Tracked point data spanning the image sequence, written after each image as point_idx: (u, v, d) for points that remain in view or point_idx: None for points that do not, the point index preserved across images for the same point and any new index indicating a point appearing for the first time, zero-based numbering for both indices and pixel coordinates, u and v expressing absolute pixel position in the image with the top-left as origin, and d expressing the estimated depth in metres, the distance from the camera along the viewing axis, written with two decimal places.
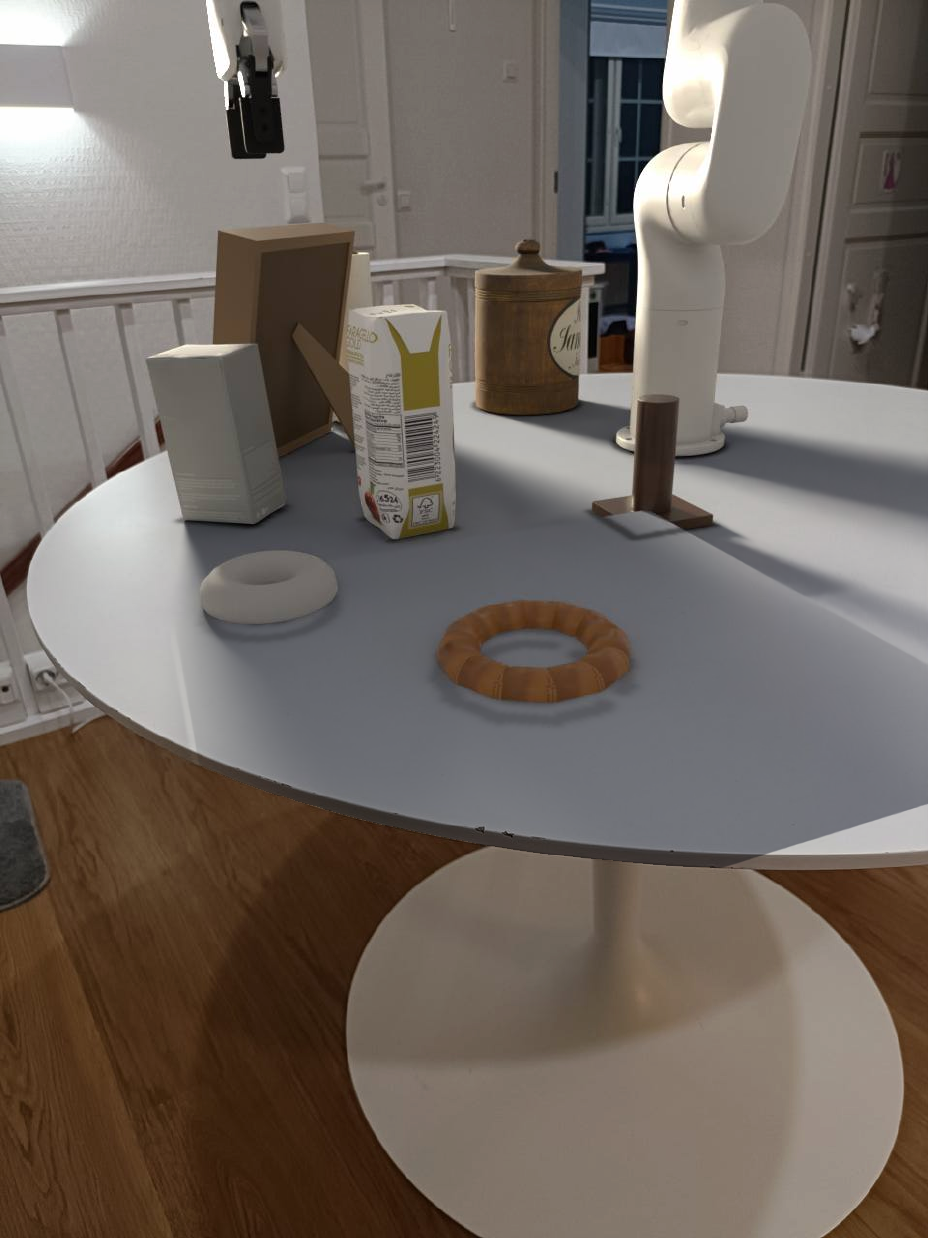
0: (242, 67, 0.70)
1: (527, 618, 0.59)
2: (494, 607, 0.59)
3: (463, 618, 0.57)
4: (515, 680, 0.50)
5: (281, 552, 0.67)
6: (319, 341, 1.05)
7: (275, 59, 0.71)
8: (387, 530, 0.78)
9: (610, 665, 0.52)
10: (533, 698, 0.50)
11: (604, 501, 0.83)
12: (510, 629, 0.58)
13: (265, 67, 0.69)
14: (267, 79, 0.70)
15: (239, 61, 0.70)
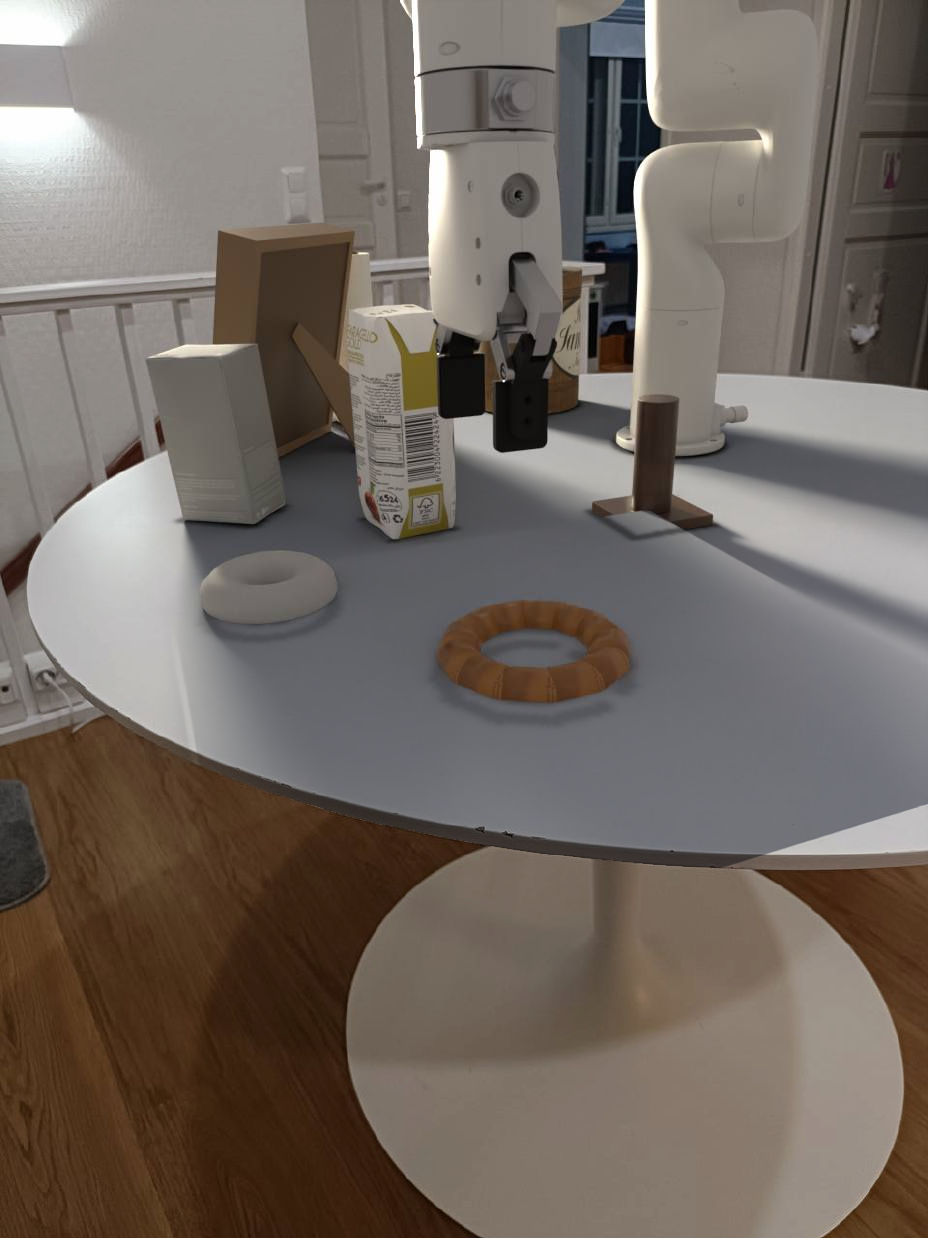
0: (503, 342, 0.48)
1: (527, 618, 0.59)
2: (494, 607, 0.59)
3: (463, 618, 0.57)
4: (515, 680, 0.50)
5: (281, 552, 0.67)
6: (319, 341, 1.05)
7: None
8: (387, 530, 0.78)
9: (610, 665, 0.52)
10: (533, 698, 0.50)
11: (604, 501, 0.83)
12: (510, 629, 0.58)
13: (546, 351, 0.46)
14: (543, 363, 0.47)
15: (498, 332, 0.48)
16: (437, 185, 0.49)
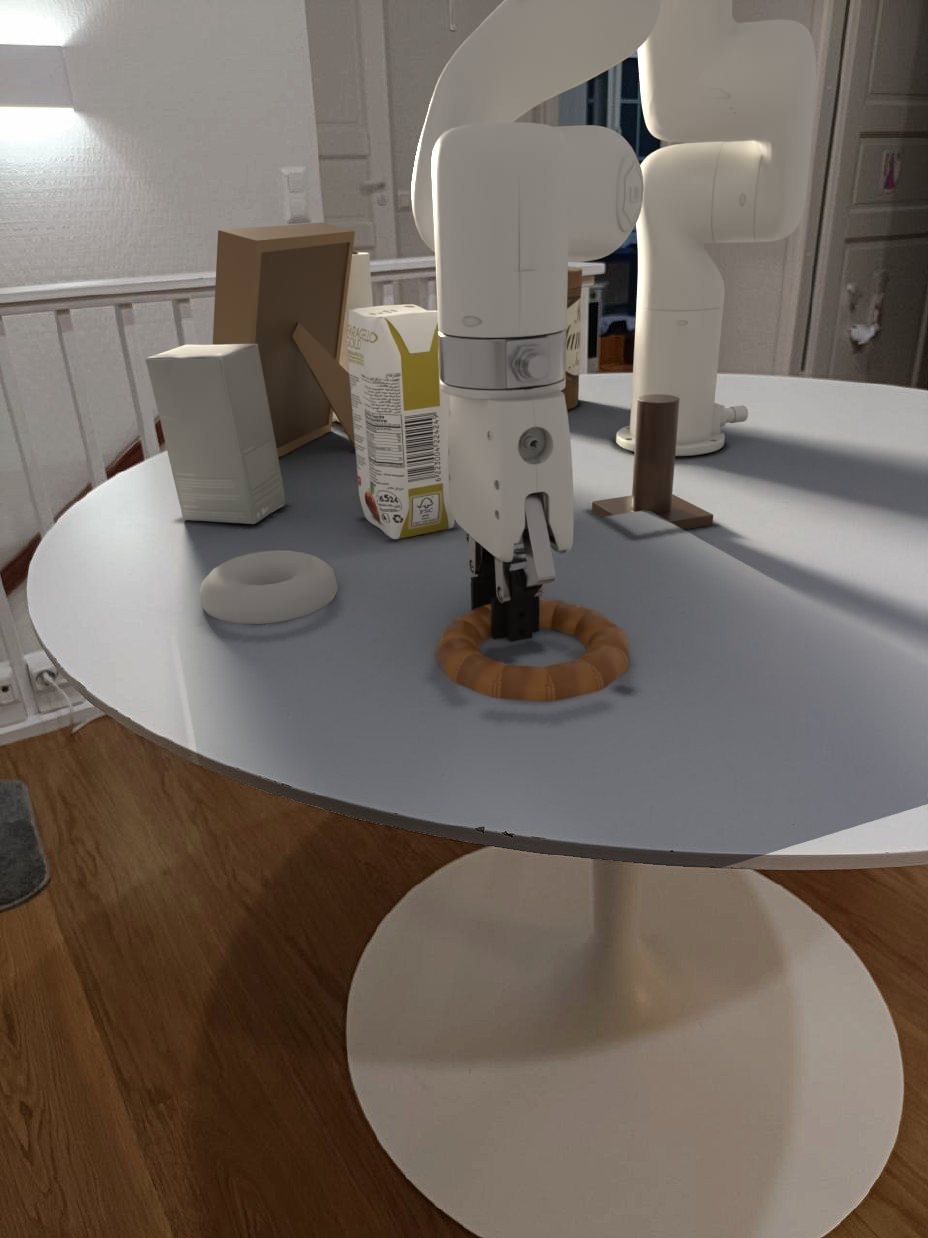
0: (505, 574, 0.55)
1: None
2: None
3: (462, 617, 0.57)
4: (514, 679, 0.50)
5: (281, 552, 0.67)
6: (319, 341, 1.05)
7: (560, 550, 0.53)
8: (387, 530, 0.78)
9: (609, 664, 0.52)
10: (532, 697, 0.50)
11: (604, 501, 0.83)
12: None
13: (535, 585, 0.54)
14: (535, 590, 0.55)
15: (503, 566, 0.54)
16: (457, 417, 0.54)
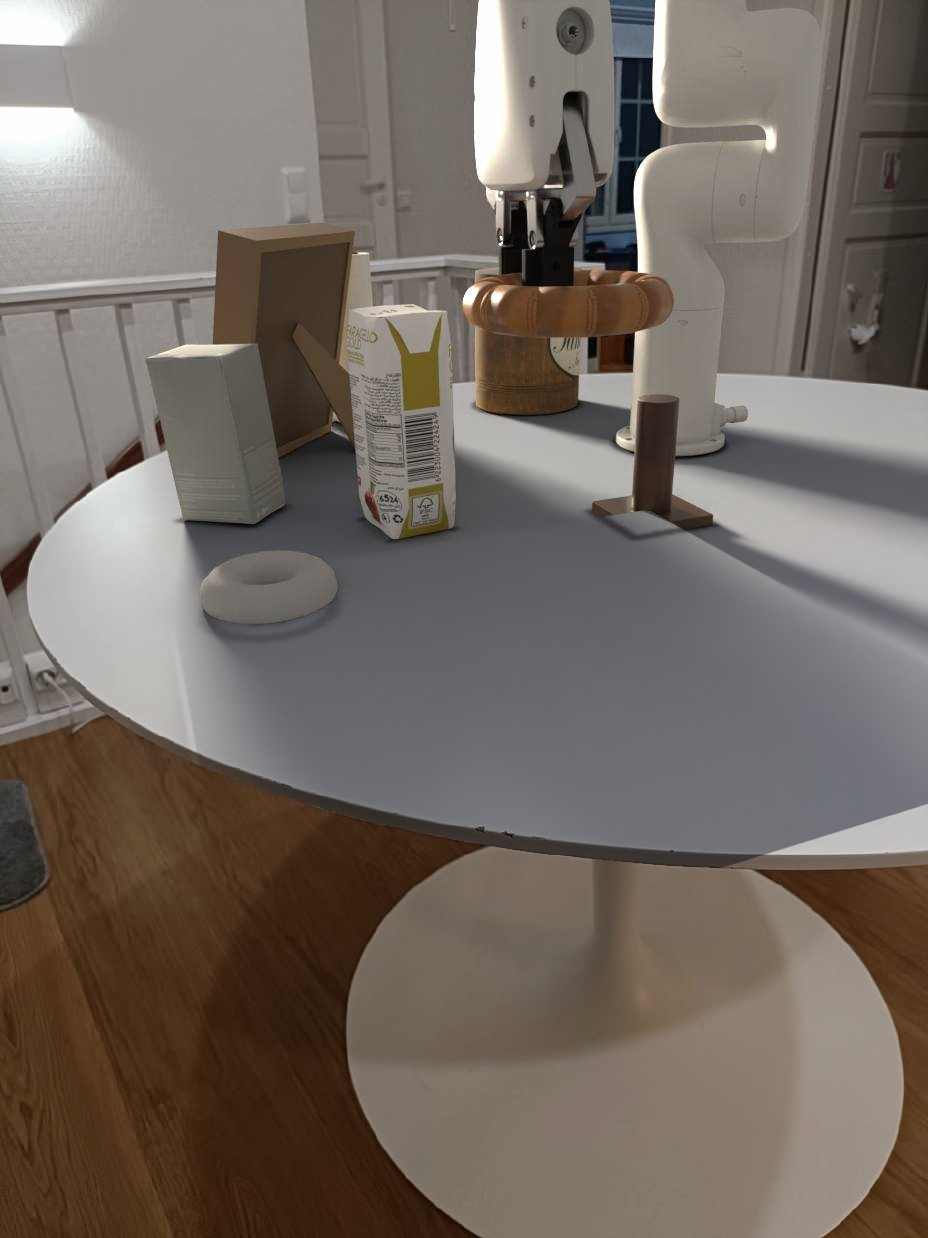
0: (539, 210, 0.50)
1: None
2: None
3: None
4: (551, 294, 0.46)
5: (281, 552, 0.67)
6: (319, 341, 1.05)
7: (599, 171, 0.49)
8: (387, 530, 0.78)
9: (654, 289, 0.48)
10: (571, 311, 0.46)
11: (604, 501, 0.83)
12: None
13: (571, 219, 0.50)
14: (571, 229, 0.50)
15: (537, 200, 0.50)
16: (487, 32, 0.49)
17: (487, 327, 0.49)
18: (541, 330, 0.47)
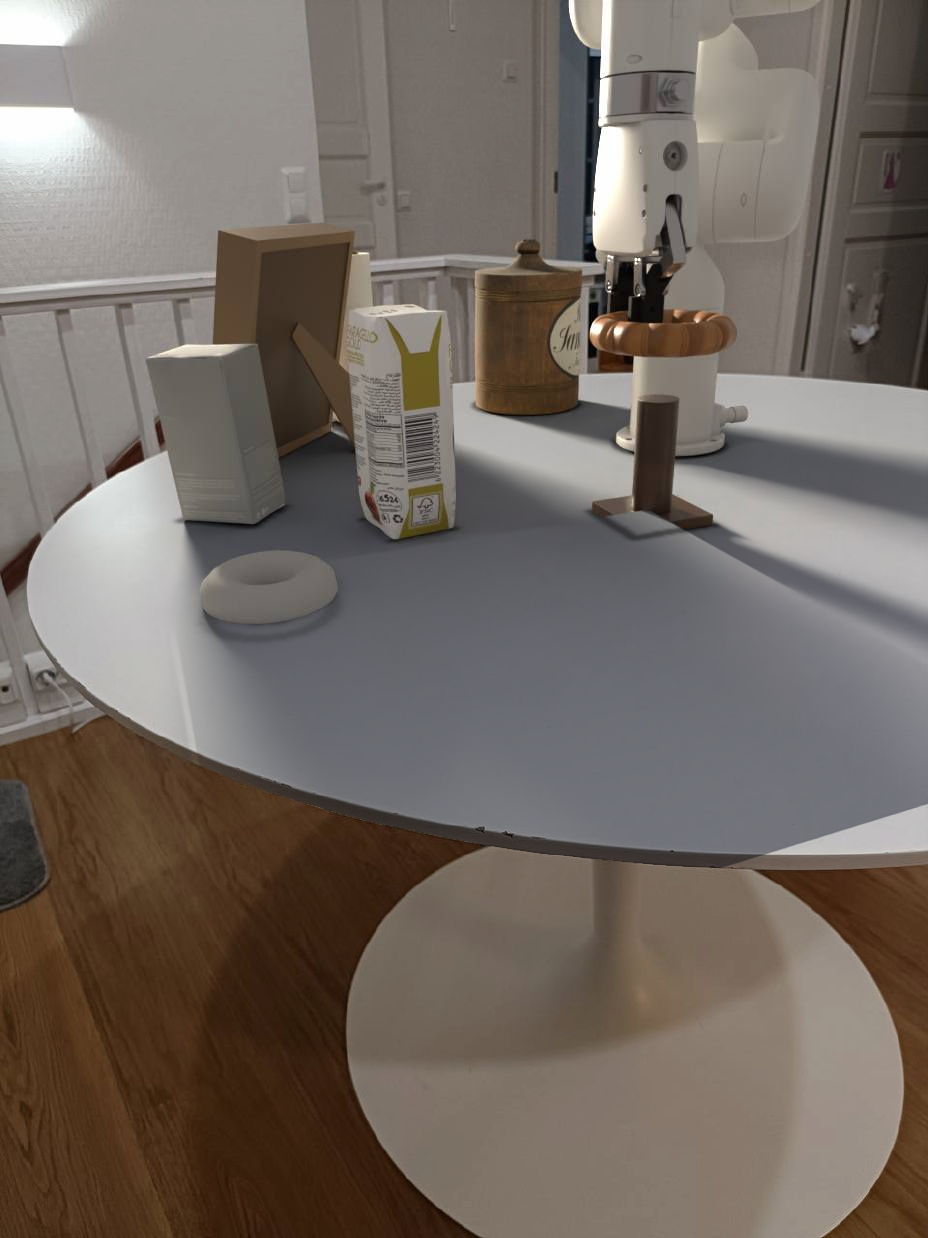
0: (643, 271, 0.73)
1: None
2: (627, 311, 0.77)
3: (606, 314, 0.76)
4: (658, 328, 0.69)
5: (281, 552, 0.67)
6: (319, 341, 1.05)
7: (687, 246, 0.72)
8: (387, 530, 0.78)
9: (725, 325, 0.71)
10: (671, 340, 0.69)
11: (604, 501, 0.83)
12: None
13: (666, 277, 0.73)
14: (665, 283, 0.73)
15: (642, 263, 0.73)
16: (610, 151, 0.72)
17: (610, 349, 0.72)
18: (650, 352, 0.70)
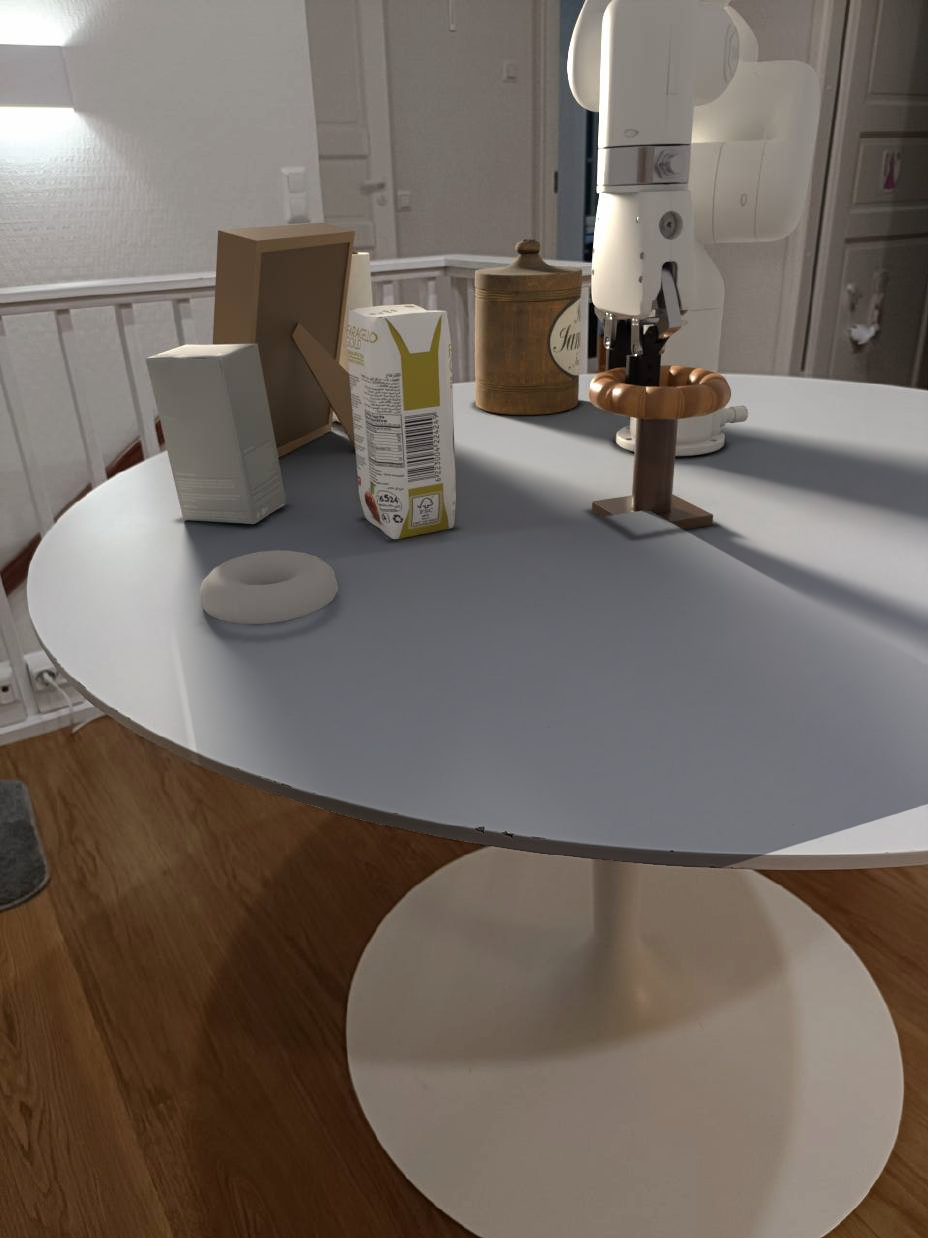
0: (640, 332, 0.76)
1: None
2: (625, 367, 0.80)
3: None
4: (654, 392, 0.71)
5: (281, 552, 0.67)
6: (319, 341, 1.05)
7: (682, 309, 0.74)
8: (387, 530, 0.78)
9: (719, 387, 0.73)
10: (667, 404, 0.71)
11: (604, 501, 0.83)
12: None
13: (662, 339, 0.75)
14: (661, 344, 0.76)
15: (639, 325, 0.75)
16: (607, 216, 0.75)
17: (608, 410, 0.74)
18: (647, 415, 0.72)
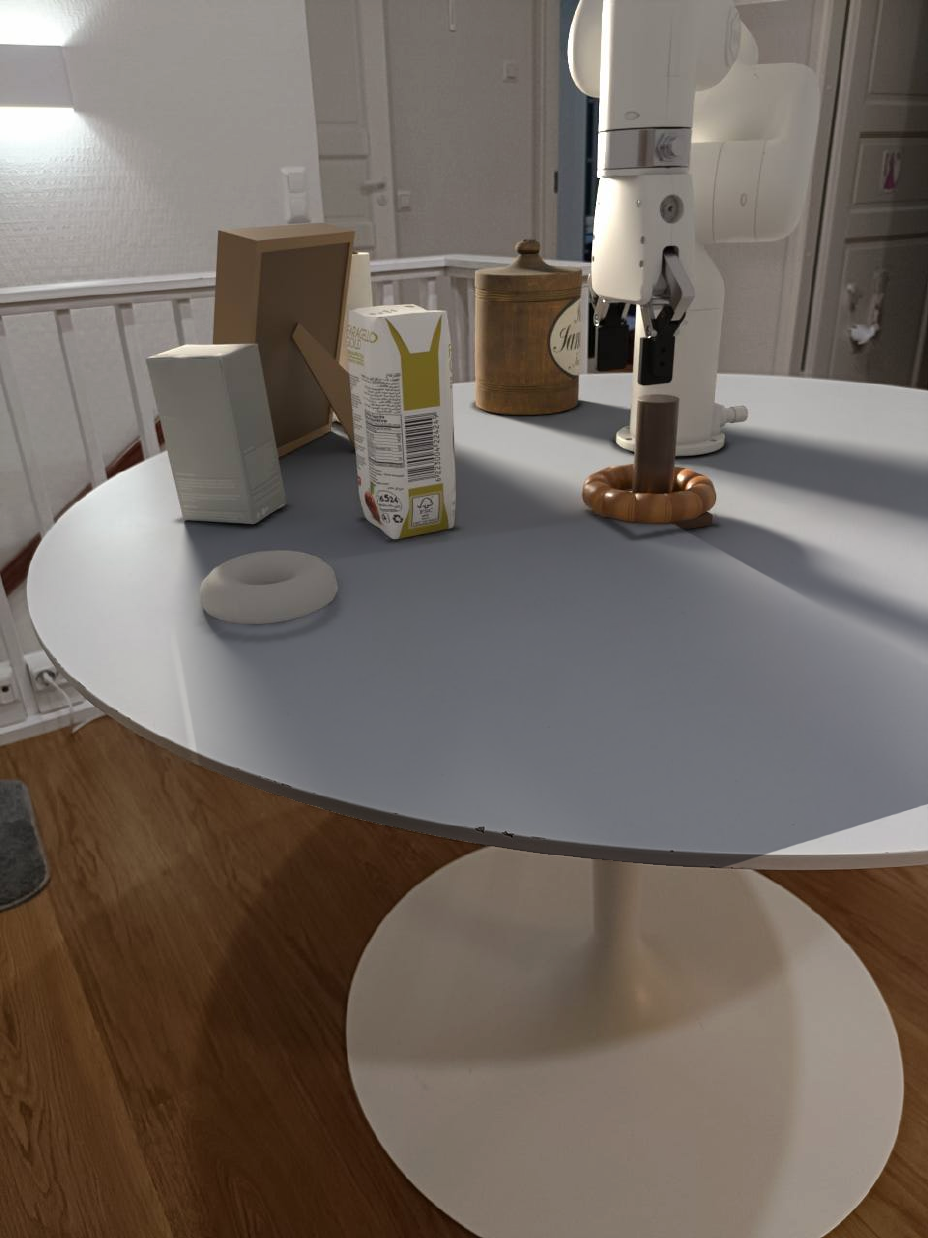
0: (651, 311, 0.73)
1: None
2: (616, 466, 0.84)
3: (597, 472, 0.83)
4: (643, 500, 0.76)
5: (281, 552, 0.67)
6: (319, 341, 1.05)
7: None
8: (387, 530, 0.78)
9: (705, 493, 0.77)
10: (656, 511, 0.76)
11: None
12: (628, 482, 0.84)
13: (679, 318, 0.72)
14: (676, 325, 0.73)
15: (648, 304, 0.73)
16: (608, 201, 0.74)
17: (600, 514, 0.78)
18: (636, 520, 0.77)
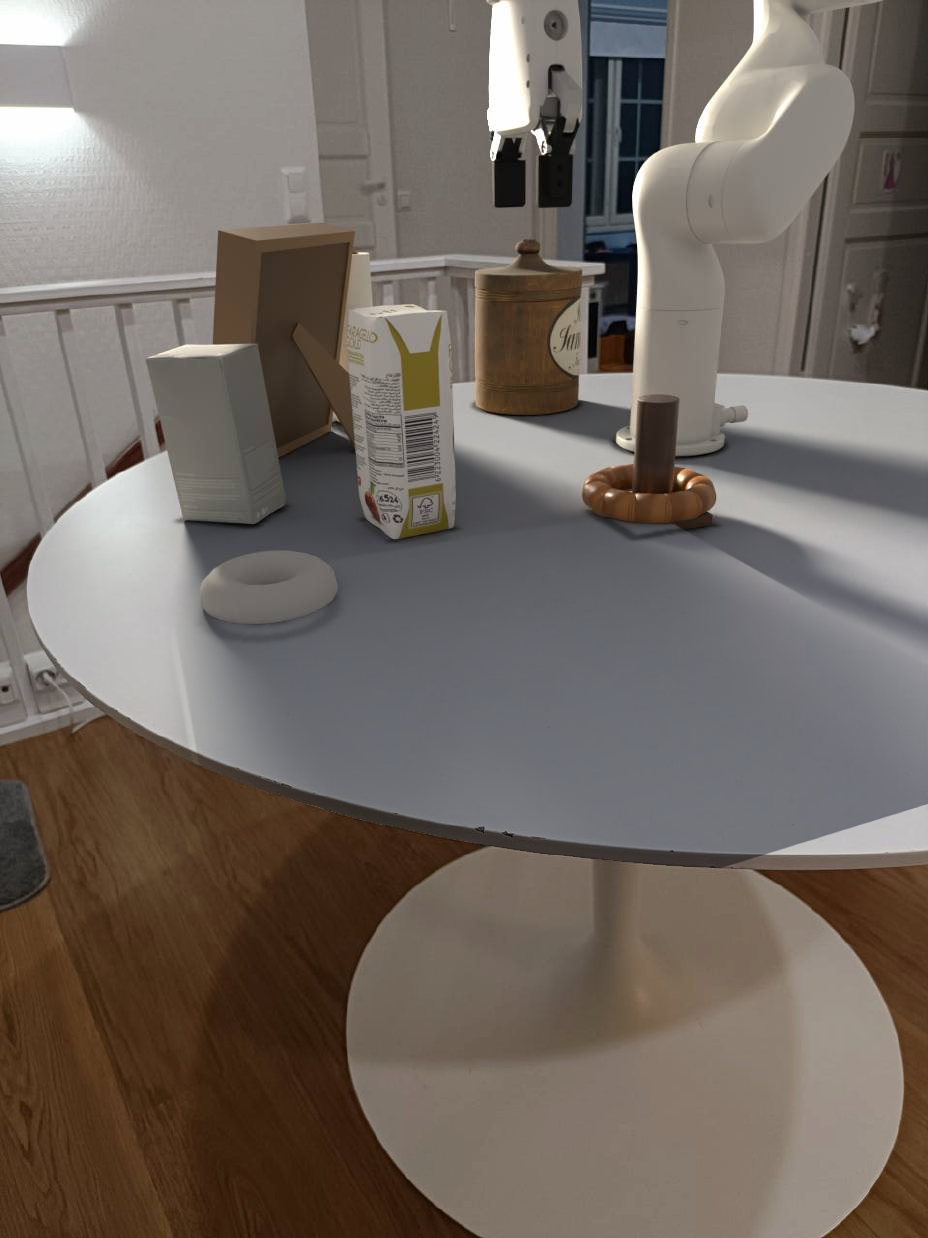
0: (543, 127, 0.73)
1: None
2: (616, 466, 0.84)
3: (597, 472, 0.83)
4: (643, 500, 0.76)
5: (281, 552, 0.67)
6: (319, 341, 1.05)
7: None
8: (387, 530, 0.78)
9: (705, 493, 0.77)
10: (656, 511, 0.76)
11: None
12: (628, 482, 0.84)
13: (572, 128, 0.71)
14: (570, 139, 0.72)
15: (540, 121, 0.73)
16: (498, 27, 0.74)
17: (600, 514, 0.78)
18: (636, 520, 0.77)
